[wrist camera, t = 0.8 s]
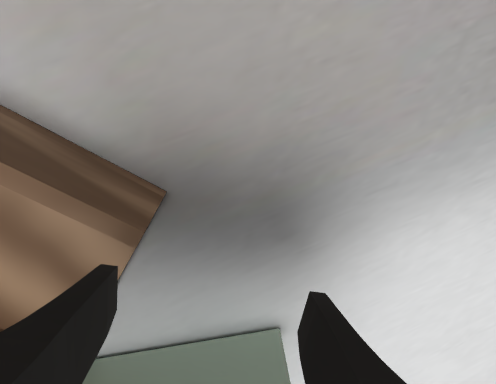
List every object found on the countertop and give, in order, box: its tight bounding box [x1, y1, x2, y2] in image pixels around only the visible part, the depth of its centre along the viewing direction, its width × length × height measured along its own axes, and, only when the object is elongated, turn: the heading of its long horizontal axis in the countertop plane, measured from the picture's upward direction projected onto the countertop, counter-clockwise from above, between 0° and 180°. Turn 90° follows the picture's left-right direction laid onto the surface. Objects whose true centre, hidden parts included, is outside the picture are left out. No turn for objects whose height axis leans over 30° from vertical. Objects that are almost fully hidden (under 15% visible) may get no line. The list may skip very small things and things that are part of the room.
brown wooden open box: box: [0, 105, 166, 332], centre depth 20 cm, size 15×12×6 cm
